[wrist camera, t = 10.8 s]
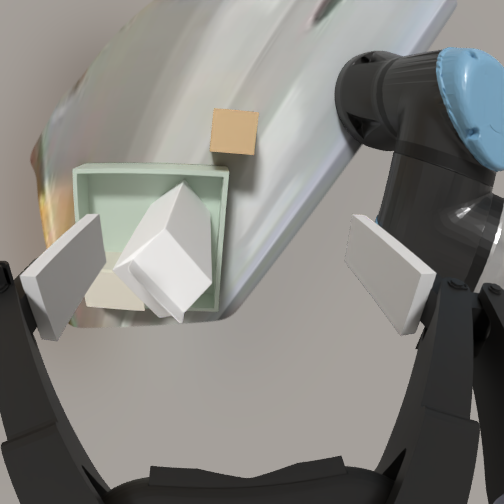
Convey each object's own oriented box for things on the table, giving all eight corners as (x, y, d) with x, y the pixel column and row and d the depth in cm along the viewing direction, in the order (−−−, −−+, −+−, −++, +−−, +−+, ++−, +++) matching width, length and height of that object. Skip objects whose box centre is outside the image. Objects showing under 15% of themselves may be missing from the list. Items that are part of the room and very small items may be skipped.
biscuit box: (251, 113, 37) (258, 112, 32) (247, 149, 39) (253, 155, 34) (213, 109, 36) (214, 108, 31) (209, 146, 38) (209, 151, 33)
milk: (177, 236, 42) (154, 344, 23) (150, 204, 40) (99, 292, 20) (211, 211, 41) (214, 306, 22) (184, 177, 39) (158, 245, 19)
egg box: (150, 251, 43) (141, 274, 37) (151, 285, 45) (144, 310, 39) (95, 249, 41) (80, 270, 35) (100, 281, 44) (86, 306, 37)
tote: (227, 166, 40) (229, 172, 36) (217, 295, 48) (218, 312, 44) (85, 163, 36) (72, 169, 32) (95, 288, 45) (87, 304, 41)
